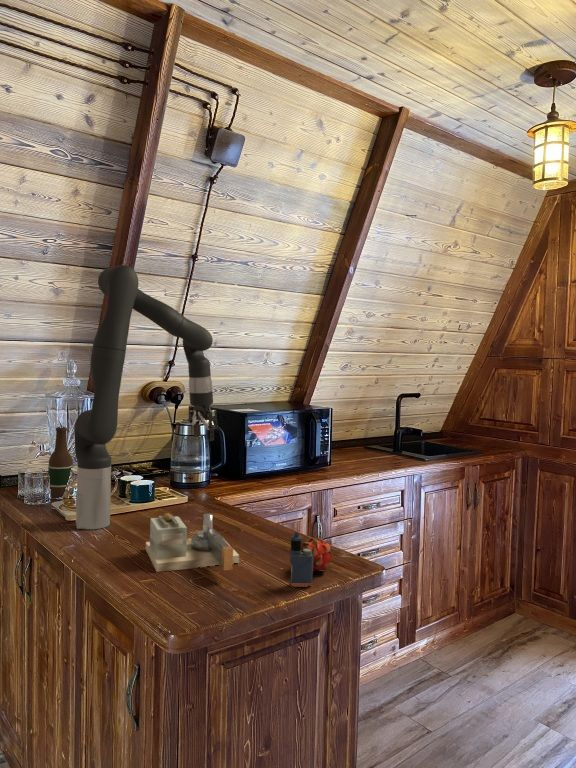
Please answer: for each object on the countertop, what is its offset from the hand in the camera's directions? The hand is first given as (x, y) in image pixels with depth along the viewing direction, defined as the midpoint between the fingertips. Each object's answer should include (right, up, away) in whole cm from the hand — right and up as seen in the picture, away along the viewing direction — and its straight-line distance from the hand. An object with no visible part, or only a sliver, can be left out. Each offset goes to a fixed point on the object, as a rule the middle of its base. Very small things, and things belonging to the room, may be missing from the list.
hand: (204, 438), depth 195 cm
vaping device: (+30, -27, -62) cm, 74 cm away
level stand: (+3, -25, -46) cm, 53 cm away
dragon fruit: (+34, -27, -52) cm, 68 cm away
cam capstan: (+10, -23, -51) cm, 57 cm away
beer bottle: (-49, -21, +5) cm, 54 cm away
